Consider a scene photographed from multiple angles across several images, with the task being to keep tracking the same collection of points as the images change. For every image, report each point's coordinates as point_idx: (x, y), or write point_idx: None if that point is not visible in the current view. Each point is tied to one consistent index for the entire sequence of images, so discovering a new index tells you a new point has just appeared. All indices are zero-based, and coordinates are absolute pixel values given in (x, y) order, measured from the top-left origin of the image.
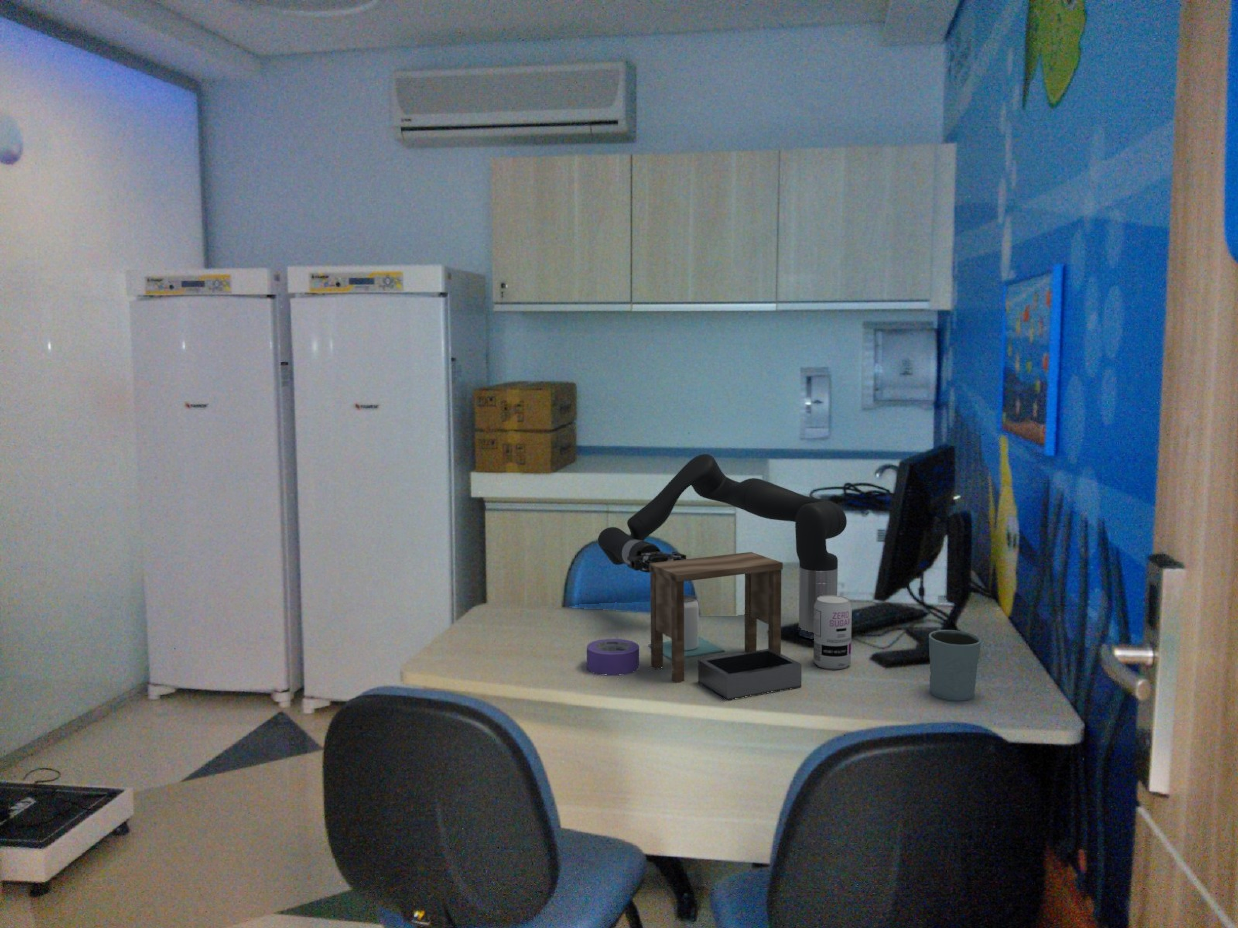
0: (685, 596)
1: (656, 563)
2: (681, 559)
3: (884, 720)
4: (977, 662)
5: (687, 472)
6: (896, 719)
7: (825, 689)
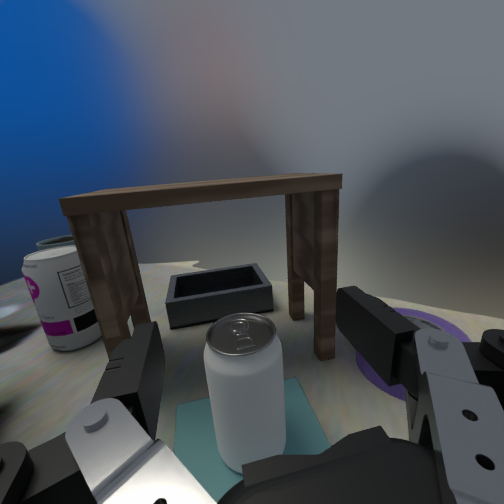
0: (227, 356)
1: (326, 174)
2: (150, 341)
3: (167, 264)
4: None
5: None
6: (159, 265)
7: (158, 293)
